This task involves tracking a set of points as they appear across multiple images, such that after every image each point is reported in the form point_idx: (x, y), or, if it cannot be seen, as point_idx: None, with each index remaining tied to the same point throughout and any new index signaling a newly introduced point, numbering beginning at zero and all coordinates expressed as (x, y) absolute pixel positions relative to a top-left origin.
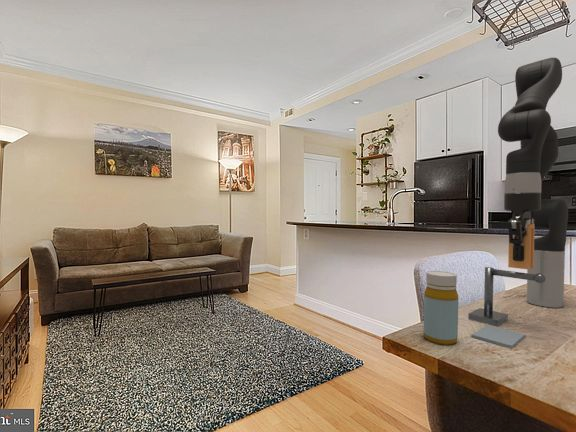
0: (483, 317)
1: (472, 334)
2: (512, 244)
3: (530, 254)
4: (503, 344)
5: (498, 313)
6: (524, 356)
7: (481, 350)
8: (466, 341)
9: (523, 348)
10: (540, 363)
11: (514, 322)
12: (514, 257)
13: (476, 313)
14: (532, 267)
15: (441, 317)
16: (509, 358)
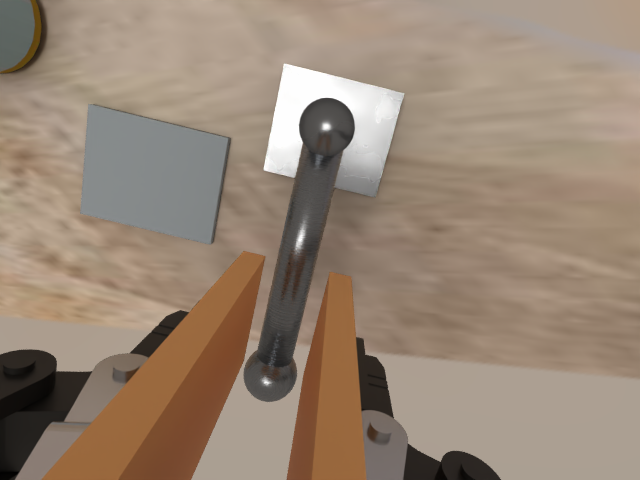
0: (273, 121)
1: (91, 107)
2: (112, 361)
3: (213, 427)
4: (84, 193)
5: (362, 166)
6: (53, 239)
7: (9, 143)
8: (45, 97)
9: (111, 237)
10: (37, 269)
11: (353, 214)
12: (171, 316)
13: (306, 91)
14: (303, 375)
15: None
16: (11, 208)
